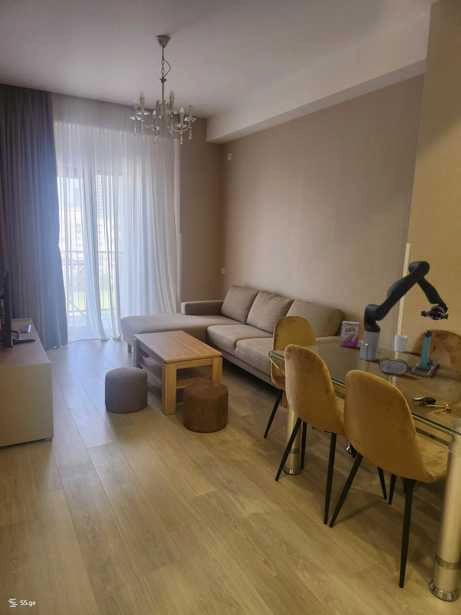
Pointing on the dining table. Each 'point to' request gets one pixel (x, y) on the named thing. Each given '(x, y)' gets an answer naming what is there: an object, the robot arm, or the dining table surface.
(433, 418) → the dining table surface
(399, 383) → the dining table surface
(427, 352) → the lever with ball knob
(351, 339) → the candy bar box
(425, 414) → the dining table surface
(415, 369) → the press base
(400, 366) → the tin
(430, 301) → the robot arm
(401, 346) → the white cup
